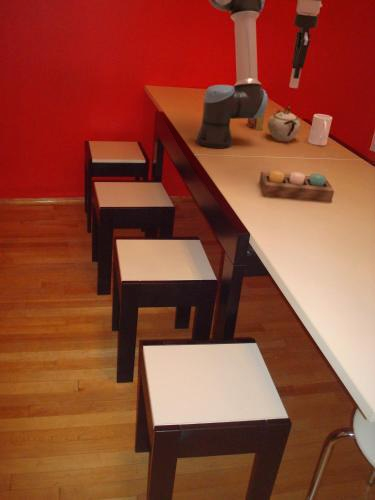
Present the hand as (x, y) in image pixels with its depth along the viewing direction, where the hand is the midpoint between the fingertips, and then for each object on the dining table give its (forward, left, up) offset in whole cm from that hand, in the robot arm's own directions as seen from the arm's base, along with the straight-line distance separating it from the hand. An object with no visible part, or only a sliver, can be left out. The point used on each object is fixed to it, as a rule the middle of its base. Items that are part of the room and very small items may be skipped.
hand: (293, 87), depth 176 cm
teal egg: (+9, -23, -29) cm, 38 cm away
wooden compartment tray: (+2, -23, -30) cm, 38 cm away
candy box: (-3, +56, -31) cm, 64 cm away
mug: (+24, +38, -31) cm, 54 cm away
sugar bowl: (+8, +41, -31) cm, 52 cm away
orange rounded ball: (-5, -23, -29) cm, 37 cm away
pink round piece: (+2, -23, -29) cm, 37 cm away
